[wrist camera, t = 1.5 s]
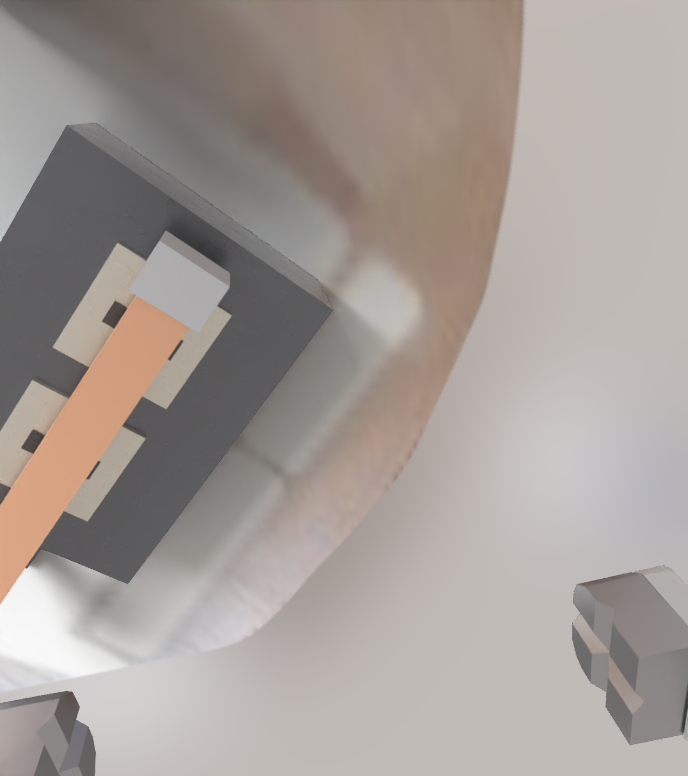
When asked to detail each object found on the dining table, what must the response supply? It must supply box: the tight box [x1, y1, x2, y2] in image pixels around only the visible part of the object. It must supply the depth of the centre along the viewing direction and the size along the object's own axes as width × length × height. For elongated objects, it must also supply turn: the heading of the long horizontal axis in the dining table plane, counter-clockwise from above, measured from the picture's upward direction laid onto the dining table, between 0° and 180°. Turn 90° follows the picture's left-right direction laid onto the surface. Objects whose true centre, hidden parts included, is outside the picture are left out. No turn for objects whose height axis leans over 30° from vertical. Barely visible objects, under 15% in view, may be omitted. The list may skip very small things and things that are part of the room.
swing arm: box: [0, 231, 230, 604], centre depth 28 cm, size 25×4×2 cm, turn 143°
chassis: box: [0, 123, 333, 584], centre depth 33 cm, size 14×20×6 cm
